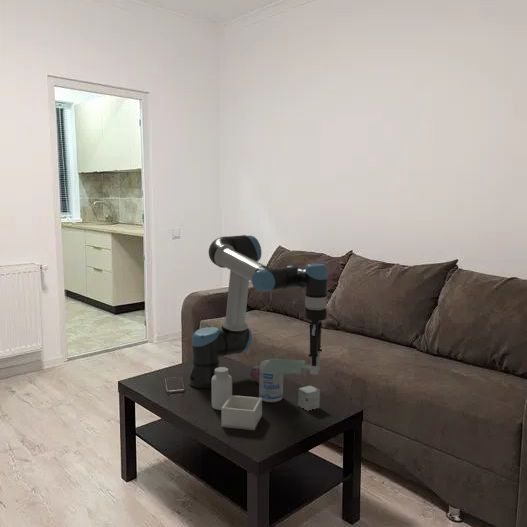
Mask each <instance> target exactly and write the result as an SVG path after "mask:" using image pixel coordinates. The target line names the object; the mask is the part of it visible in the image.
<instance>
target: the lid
mask: <svg viewBox="0 0 527 527" xmlns="http://www.w3.org/2000/svg"><path fill="white" fill-rule="evenodd" d="M268 360H269V362H268V363H267V365H266V366H265V367H264V369H263V372H276V373H277V374H283V375H292V374H293V375H301V372H302V371H307V372H310V364H306V360H304V359H303V360H301V359H290V358H289V359H288V358H279V357H278V358H277V357H275V358H274V357H270V359H268Z"/></svg>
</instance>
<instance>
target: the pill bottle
mask: <svg viewBox="0 0 527 527" xmlns="http://www.w3.org/2000/svg"><path fill="white" fill-rule="evenodd" d="M211 383H212V388H211V407H212V409H213V410H217V411H221V408H222V407H223V405H224V404H225V402H226V401H227V400H228V398H229V397H230V395H233V378H232V375H230V374H229V368H228V367H225V366H220V367H218V368H216V369H215V375H214V376H213V377H212V380H211Z"/></svg>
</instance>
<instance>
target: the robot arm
mask: <svg viewBox="0 0 527 527" xmlns="http://www.w3.org/2000/svg"><path fill="white" fill-rule="evenodd" d="M208 258H209V259H210V261H211V263H213V264H214V265H215V266H217V267H219V268H223V269H227V270H229V280H228V292H227V293H228V294H227V304H226V312H225V313H226V314H225V320H223V321H222V323H221V328H220V329H219V328H218V327H215V326H210V327H209V326H206V327H202V328H199V329H197V330H195V331H194V332H193V334H192V340H191V344H192V367H191V370H190V374H189V377H188V385H190V386H191V387H194V388H199V389H212V383H211V380H212V377H213V376H214V375H215V369H216V368H218V367H221V364H220V362H221V360H220V359H221V357H225V356H230V355H231V356H232V355H235V354H241V353H244V352H246V351H248V350H249V348H251V346H252V341H253V334H252V331H251V329H250V327H249V324H248V323H246V315H247V307H248V306H247V305H248V295H249V286H250V282H251V284H252V286H253V287H254V290H255V291H256V292H265V293H266V292H267V293H268V292H273V291H279V290H286V289H293V288H295V289H296V288H300V289H303V290H305V295H304V296H305V299H304V300H305V302H304V307H305V310H304V312H305V313H304V315H305V316H304V317H305V319H306V320H308V321H311V322H310V324H309V354H308V357H310V363H309V365H310V371H309V373H310V375H319V371H320V370H321V368H320V367H321V366H320V365H321V353H322V352H323V349H322V345H321V344H322V343H321V342H322V341H321V340H322V328H323V324H322V321H325V320H326V319H327V317H328V315H327V313H328V310H327V304H328V303H327V302H330V300H329V298H328V277H329V275H328V266H327V265H326V264H325V263H317V262H315V263H313V262H312V263H308V264H306V265H305V267H303V266H299V265H296V264H295V265H288V266H286V267H281V268H280V267H278V268H272V267H269V266H266V265H265V264H263V263H260V262H259V261H260V260H261V258H262V247H261V244H260V242H259V240H258V239H257V238H256V237H255V236H253V235H246V234H243V235H230V236H220V237H217V238H216V239H214V240H213V241H212V242H211V244H210V245H209V248H208Z"/></svg>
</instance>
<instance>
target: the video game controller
mask: <svg viewBox="0 0 527 527" xmlns="http://www.w3.org/2000/svg"><path fill="white" fill-rule="evenodd" d="M249 373H250V377H251V378H252V379H253V380H254V381H255V382H256V383H257V384H259V374H260V365H256V366H253V367H252V368H251V371H250V372H249Z"/></svg>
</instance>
